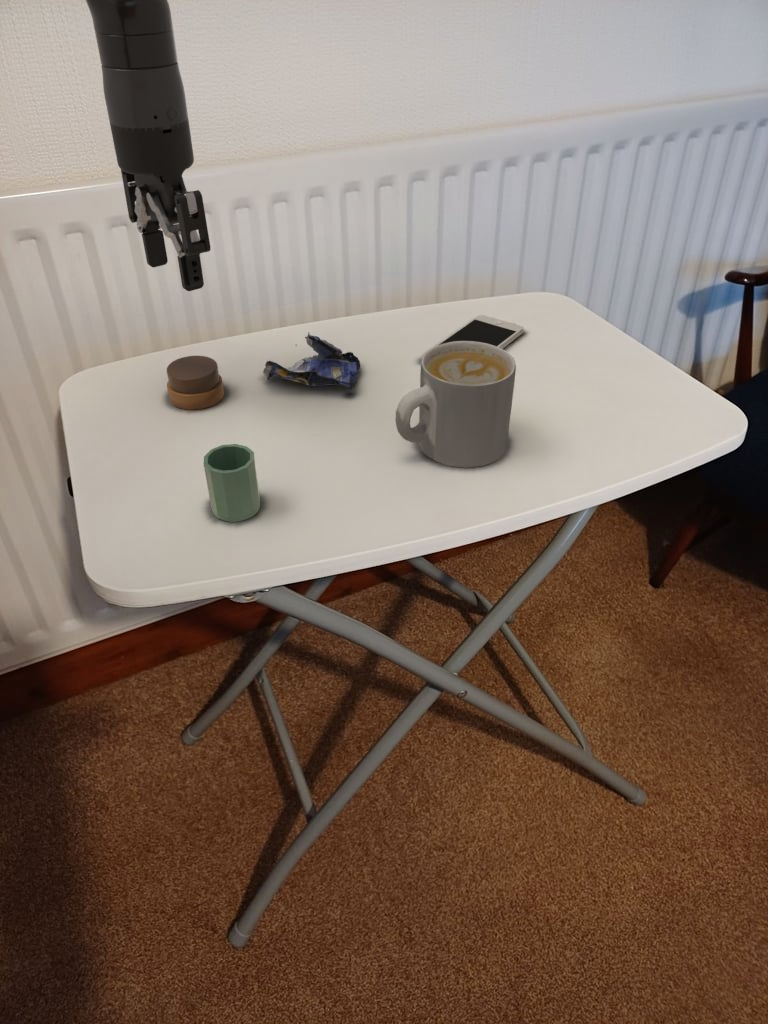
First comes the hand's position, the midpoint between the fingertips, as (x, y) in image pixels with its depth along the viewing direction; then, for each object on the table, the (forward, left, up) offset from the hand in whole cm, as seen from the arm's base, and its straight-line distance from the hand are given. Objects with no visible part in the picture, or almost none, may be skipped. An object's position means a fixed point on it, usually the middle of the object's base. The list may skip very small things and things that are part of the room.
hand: (175, 276), depth 87 cm
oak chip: (0, 0, -15) cm, 15 cm away
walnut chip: (0, 0, -13) cm, 13 cm away
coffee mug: (+1, -32, -15) cm, 36 cm away
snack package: (+9, -12, -15) cm, 22 cm away
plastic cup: (-17, -16, -15) cm, 28 cm away
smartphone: (+25, -28, -15) cm, 41 cm away
